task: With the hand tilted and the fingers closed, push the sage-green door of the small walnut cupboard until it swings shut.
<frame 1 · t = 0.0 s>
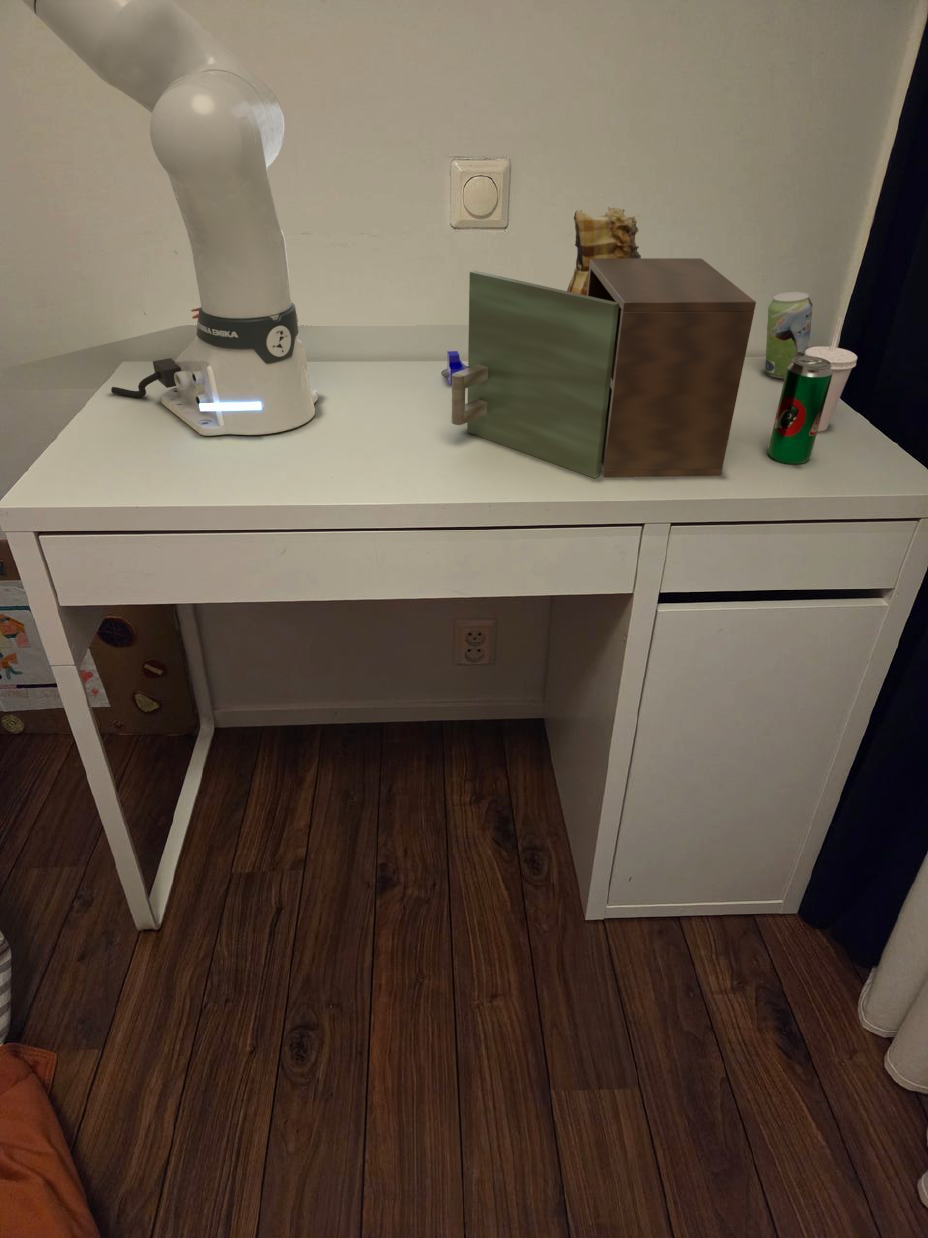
cable holder: (475, 382, 126), on the table
beverage can: (779, 376, 130), on the table
door: (520, 380, 97), point 10 cm above the table, hinge at 45.0°
soda can: (787, 459, 105), on the table
smoothie: (812, 427, 113), on the table
cupboard: (643, 442, 108), on the table
plaid cloth bag: (584, 382, 126), on the table
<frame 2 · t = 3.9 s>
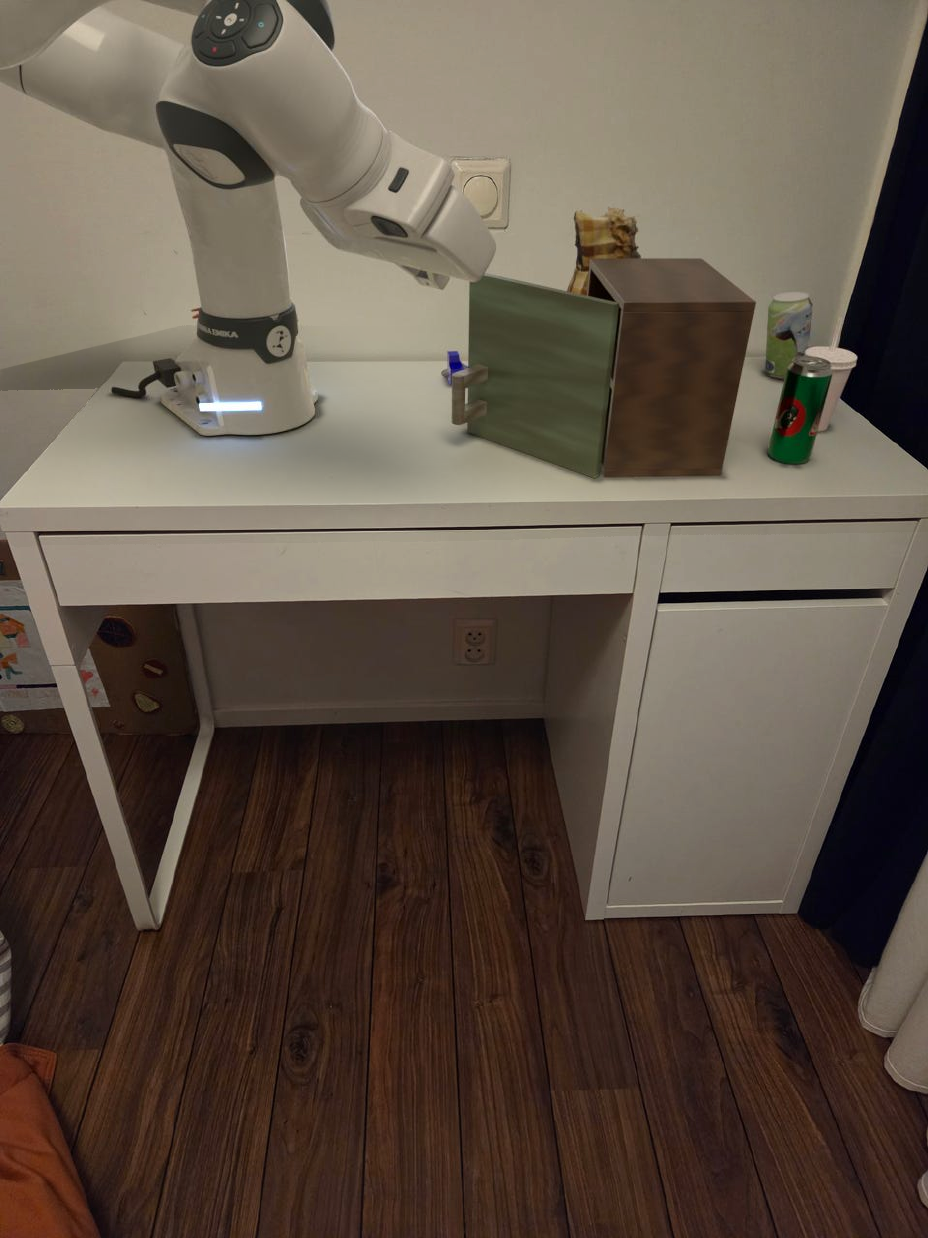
hand: (436, 281, 84), 22 cm above the table, tool tilted 45°, fingers closed
nothing on the table moved.
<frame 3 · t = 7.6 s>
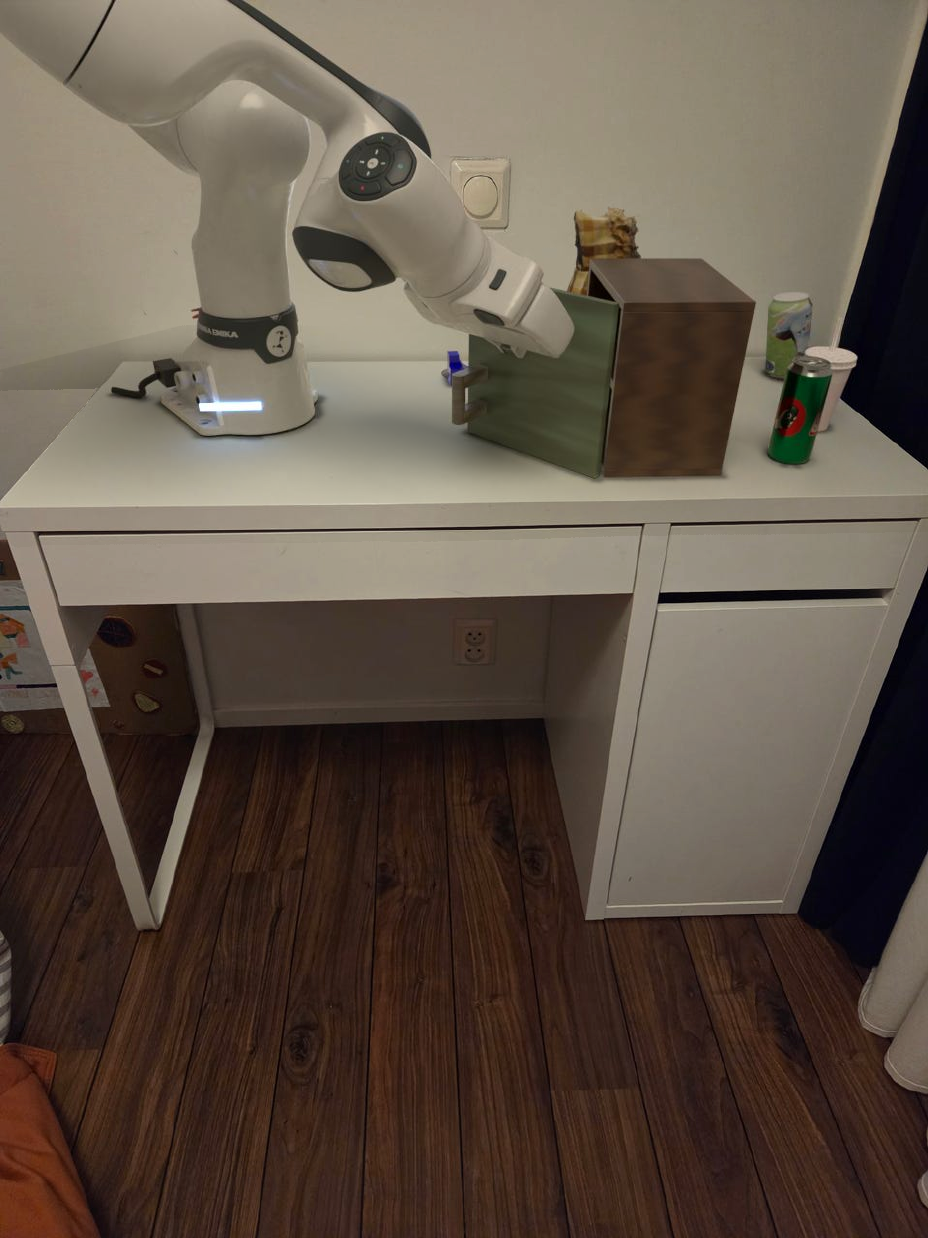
hand: (515, 350, 98), 13 cm above the table, tool tilted 45°, fingers closed, pressing on door
door: (520, 379, 97), point 10 cm above the table, hinge at 44.9°, touching gripper
everything else where it was.
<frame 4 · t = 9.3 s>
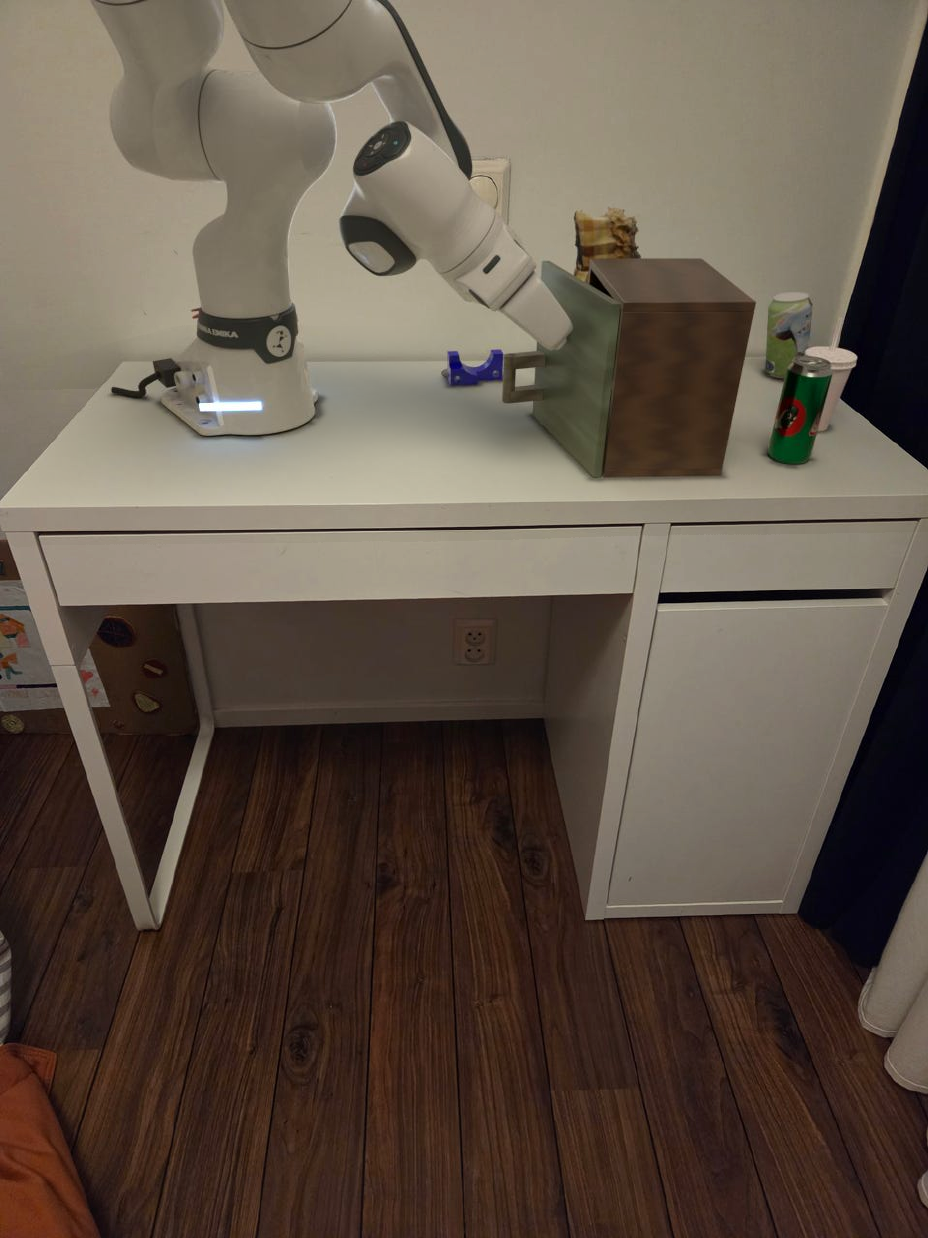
hand: (558, 342, 101), 12 cm above the table, tool tilted 45°, fingers closed, pressing on door
door: (550, 368, 101), point 10 cm above the table, hinge at 13.9°, touching gripper
everything else where it was.
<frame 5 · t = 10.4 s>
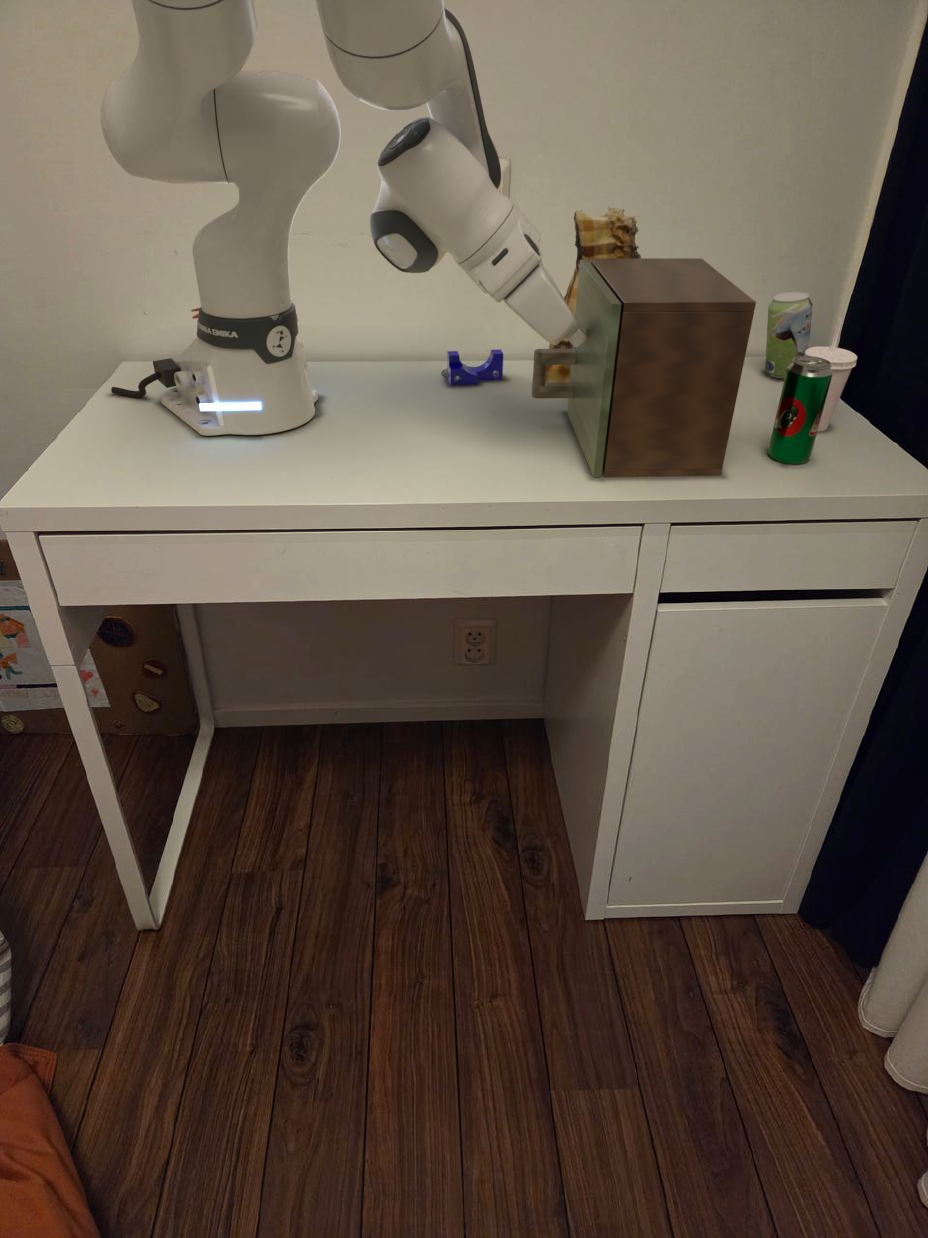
hand: (580, 340, 102), 12 cm above the table, tool tilted 45°, fingers closed
door: (568, 365, 102), point 10 cm above the table, hinge at 0.0°
everything else where it was.
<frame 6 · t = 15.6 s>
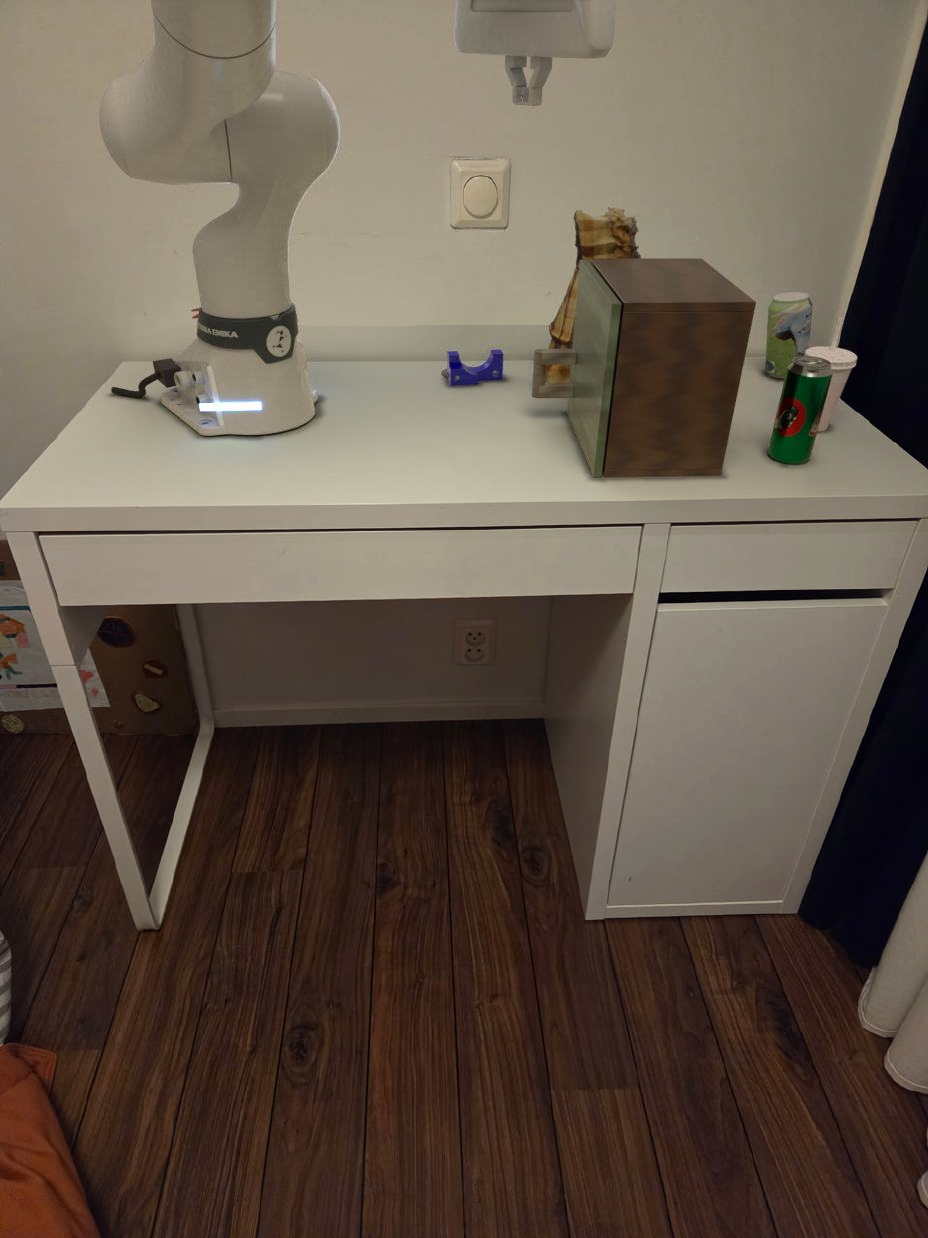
hand: (526, 104, 96), 36 cm above the table, tool pointing down, fingers closed
nothing on the table moved.
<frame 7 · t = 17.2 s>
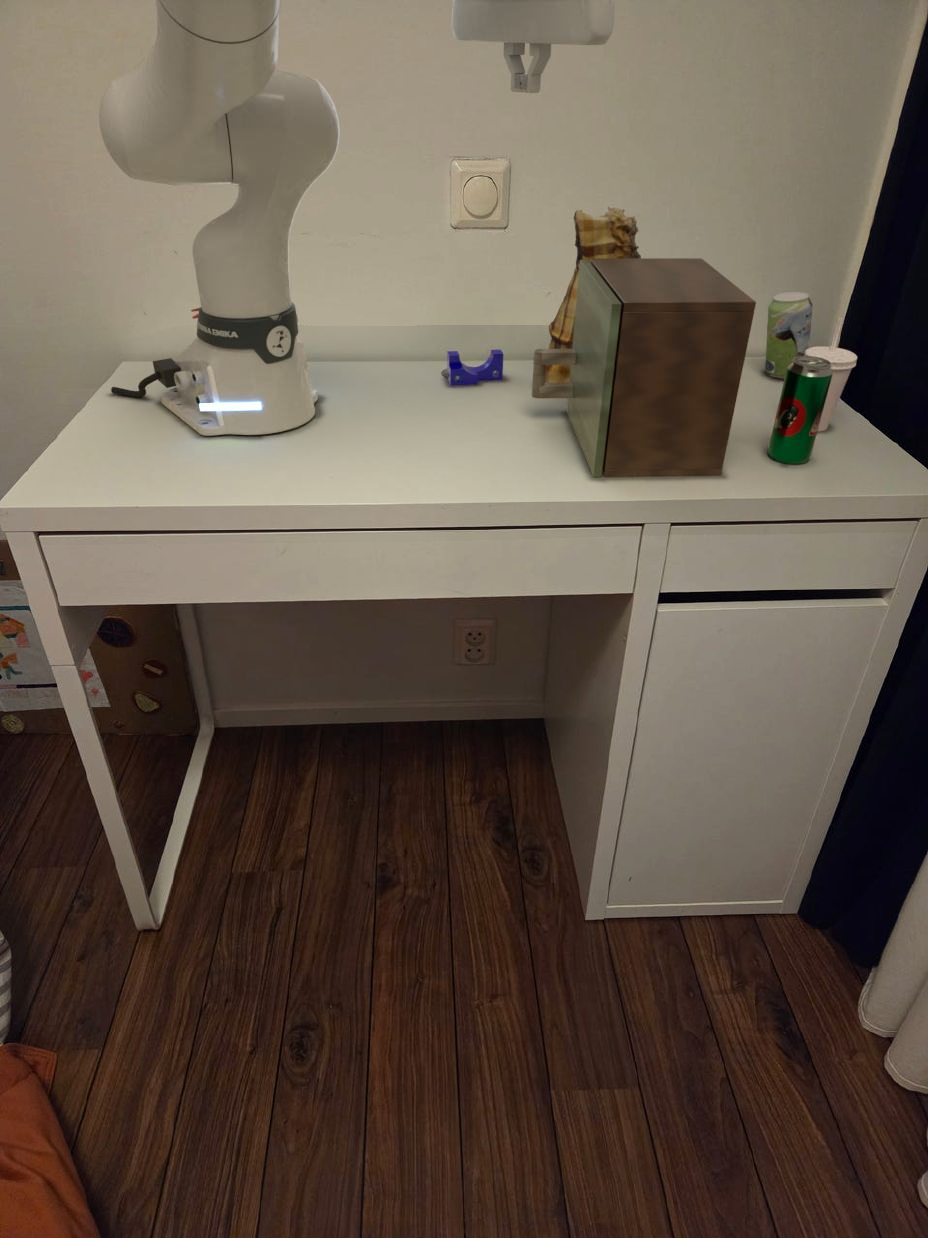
hand: (525, 92, 97), 37 cm above the table, tool pointing down, fingers closed
nothing on the table moved.
at the end: door at +0° (first picture: +45°) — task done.
